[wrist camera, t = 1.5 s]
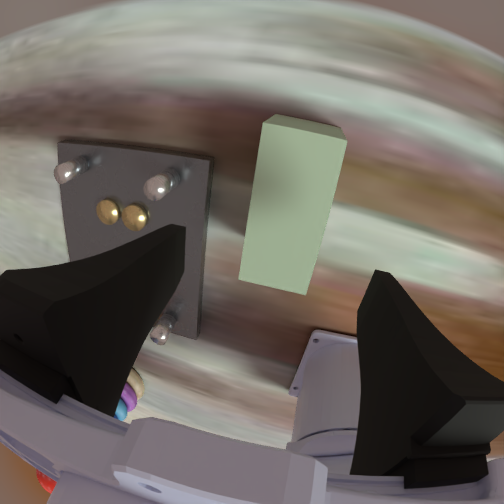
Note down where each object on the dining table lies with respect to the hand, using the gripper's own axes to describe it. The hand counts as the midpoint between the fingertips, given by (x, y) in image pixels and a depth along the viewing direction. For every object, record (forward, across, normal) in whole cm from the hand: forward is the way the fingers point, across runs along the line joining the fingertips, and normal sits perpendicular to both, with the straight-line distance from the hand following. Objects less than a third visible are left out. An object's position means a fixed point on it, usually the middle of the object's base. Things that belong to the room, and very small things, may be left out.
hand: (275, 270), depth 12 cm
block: (+10, 0, 0) cm, 10 cm away
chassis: (+10, +12, +7) cm, 17 cm away
